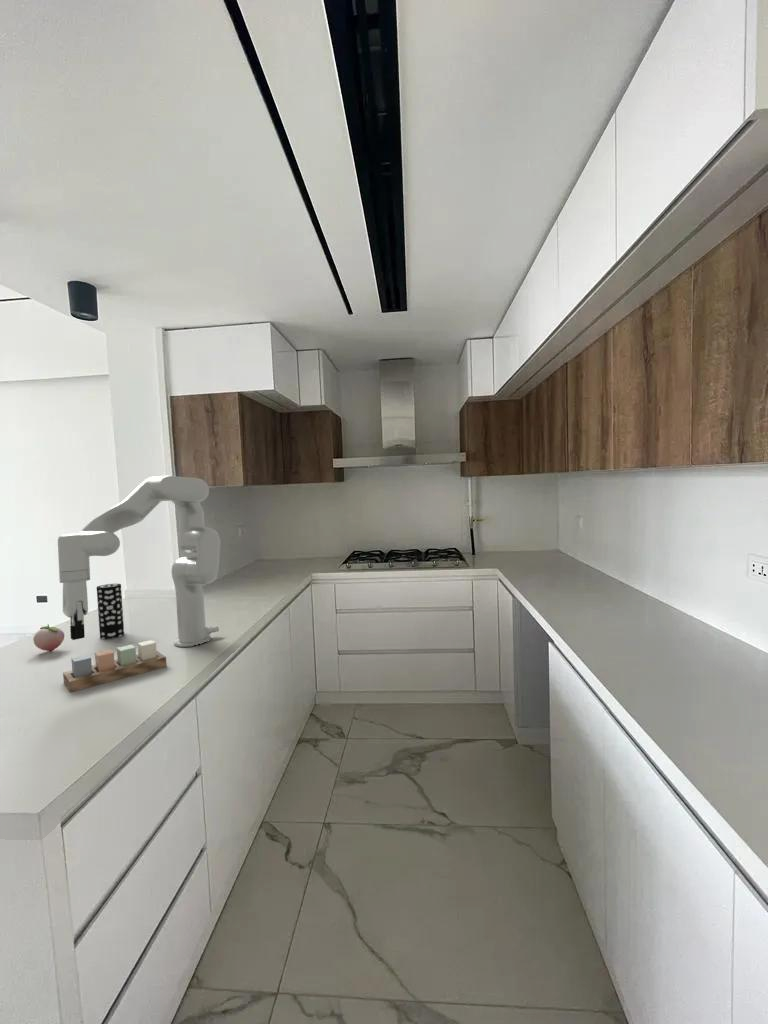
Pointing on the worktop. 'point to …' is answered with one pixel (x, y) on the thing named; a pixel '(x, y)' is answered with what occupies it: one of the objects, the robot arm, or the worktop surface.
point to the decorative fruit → (48, 638)
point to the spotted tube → (110, 611)
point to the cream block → (147, 650)
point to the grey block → (81, 666)
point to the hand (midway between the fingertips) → (77, 638)
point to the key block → (113, 672)
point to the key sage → (126, 655)
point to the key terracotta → (104, 660)
